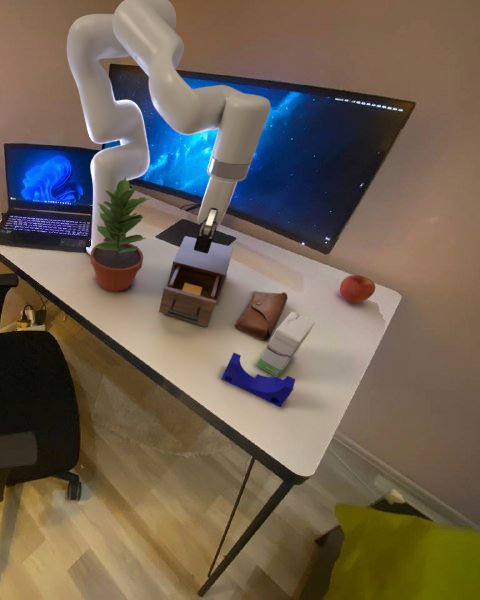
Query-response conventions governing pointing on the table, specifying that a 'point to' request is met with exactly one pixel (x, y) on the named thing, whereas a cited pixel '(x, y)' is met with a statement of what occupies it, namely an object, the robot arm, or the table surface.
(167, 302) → the drawer
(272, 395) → the blue cradle holder
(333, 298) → the table surface
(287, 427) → the table surface
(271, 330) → the sunglasses case
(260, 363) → the ink box
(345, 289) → the apple
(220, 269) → the cabinet
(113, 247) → the potted plant
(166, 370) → the table surface
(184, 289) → the block
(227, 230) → the table surface
